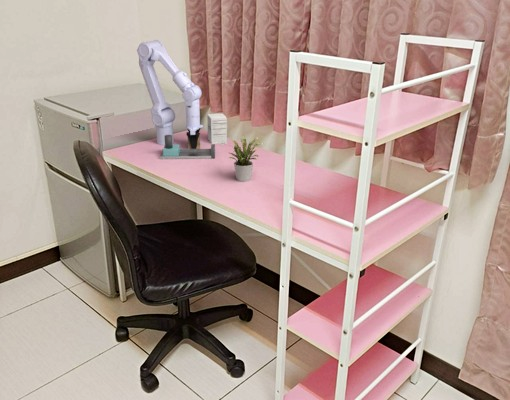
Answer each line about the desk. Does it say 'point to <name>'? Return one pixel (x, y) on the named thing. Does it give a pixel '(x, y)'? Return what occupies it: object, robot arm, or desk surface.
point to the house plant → (244, 159)
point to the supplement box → (217, 128)
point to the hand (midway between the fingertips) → (194, 146)
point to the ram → (170, 147)
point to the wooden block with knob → (197, 143)
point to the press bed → (193, 154)
